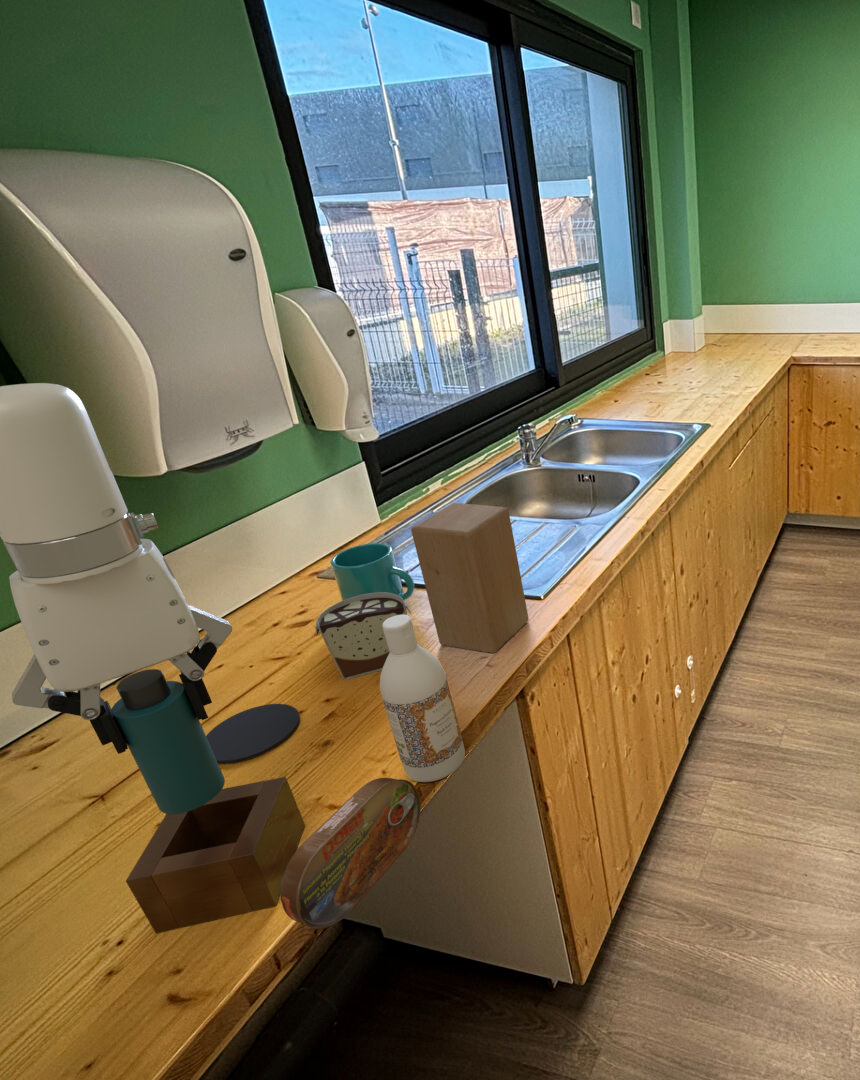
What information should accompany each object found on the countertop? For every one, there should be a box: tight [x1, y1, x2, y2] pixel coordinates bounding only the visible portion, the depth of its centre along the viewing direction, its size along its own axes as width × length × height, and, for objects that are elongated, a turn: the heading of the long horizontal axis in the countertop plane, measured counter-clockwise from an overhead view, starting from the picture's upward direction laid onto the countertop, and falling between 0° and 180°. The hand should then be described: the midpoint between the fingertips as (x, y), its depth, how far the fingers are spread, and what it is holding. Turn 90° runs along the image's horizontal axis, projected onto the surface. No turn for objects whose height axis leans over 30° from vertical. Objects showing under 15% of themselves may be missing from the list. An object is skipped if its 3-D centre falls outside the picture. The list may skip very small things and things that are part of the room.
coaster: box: [205, 703, 301, 765], centre depth 90 cm, size 11×11×1 cm
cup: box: [330, 542, 416, 603], centre depth 114 cm, size 9×12×11 cm
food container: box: [314, 592, 412, 681], centre depth 102 cm, size 12×6×10 cm, turn 116°
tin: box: [279, 777, 422, 930], centre depth 68 cm, size 15×3×8 cm, turn 161°
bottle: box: [111, 668, 226, 815], centre depth 63 cm, size 5×5×13 cm
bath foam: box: [379, 614, 466, 783], centre depth 80 cm, size 7×7×20 cm
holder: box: [125, 776, 306, 934], centre depth 69 cm, size 10×10×7 cm
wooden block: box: [410, 502, 529, 654], centre depth 106 cm, size 10×10×20 cm
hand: (161, 726), depth 62 cm, fingers closed on bottle, 5 cm apart
